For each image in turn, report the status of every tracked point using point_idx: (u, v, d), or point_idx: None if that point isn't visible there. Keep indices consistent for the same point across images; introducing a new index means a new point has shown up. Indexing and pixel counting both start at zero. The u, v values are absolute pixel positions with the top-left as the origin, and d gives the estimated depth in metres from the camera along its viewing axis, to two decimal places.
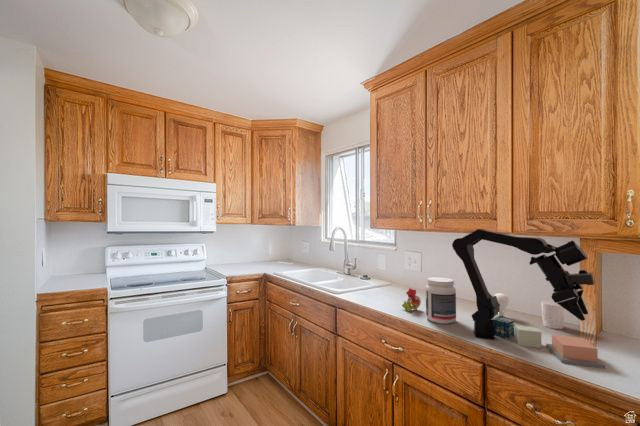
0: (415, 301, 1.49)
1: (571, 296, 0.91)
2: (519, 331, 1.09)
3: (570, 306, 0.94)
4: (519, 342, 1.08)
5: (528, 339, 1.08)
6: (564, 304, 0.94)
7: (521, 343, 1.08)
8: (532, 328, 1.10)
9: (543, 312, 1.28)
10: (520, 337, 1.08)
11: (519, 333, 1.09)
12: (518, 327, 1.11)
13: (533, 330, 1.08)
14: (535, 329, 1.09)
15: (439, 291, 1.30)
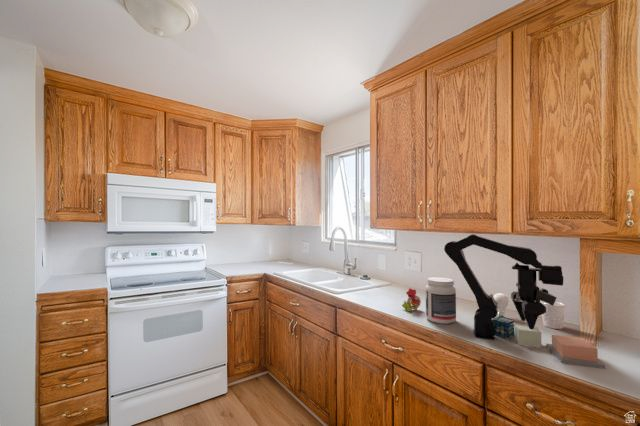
0: (415, 301, 1.49)
1: (542, 311, 1.01)
2: (519, 331, 1.09)
3: (530, 316, 1.05)
4: (519, 342, 1.08)
5: (528, 339, 1.08)
6: (527, 313, 1.04)
7: (521, 343, 1.08)
8: None
9: None
10: (520, 337, 1.08)
11: (519, 333, 1.09)
12: (518, 327, 1.11)
13: (533, 330, 1.08)
14: (535, 329, 1.09)
15: (439, 291, 1.30)
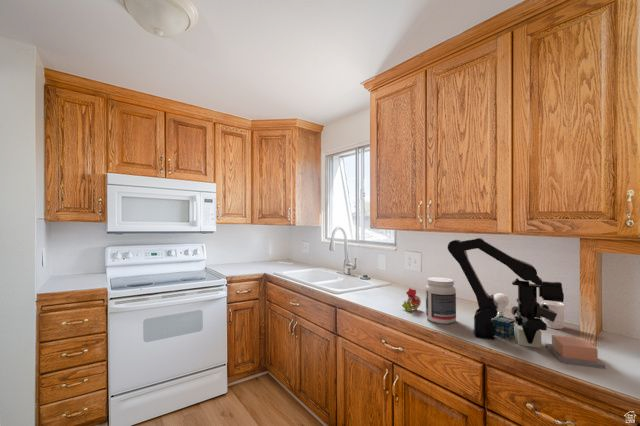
0: (415, 301, 1.49)
1: (543, 328, 1.00)
2: (519, 331, 1.09)
3: (528, 330, 1.06)
4: (519, 342, 1.08)
5: None
6: (526, 328, 1.06)
7: (521, 343, 1.08)
8: None
9: None
10: (520, 337, 1.08)
11: (519, 333, 1.09)
12: (518, 327, 1.11)
13: None
14: None
15: (439, 291, 1.30)
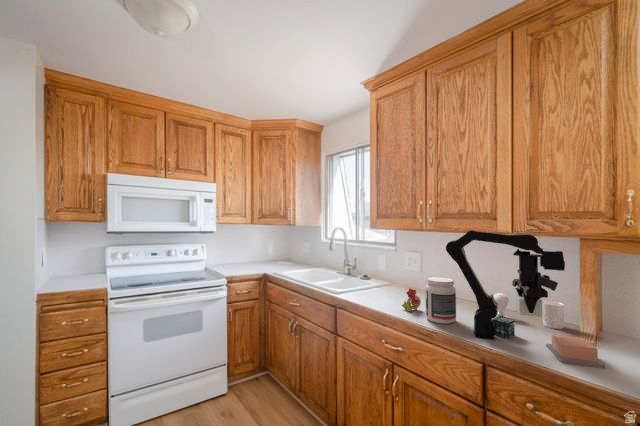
0: (415, 301, 1.49)
1: (544, 296, 1.00)
2: (520, 301, 1.09)
3: (530, 300, 1.06)
4: (520, 312, 1.08)
5: None
6: (527, 297, 1.06)
7: (522, 312, 1.08)
8: None
9: (543, 312, 1.28)
10: (522, 306, 1.08)
11: (520, 303, 1.08)
12: (519, 297, 1.11)
13: None
14: None
15: (439, 291, 1.30)
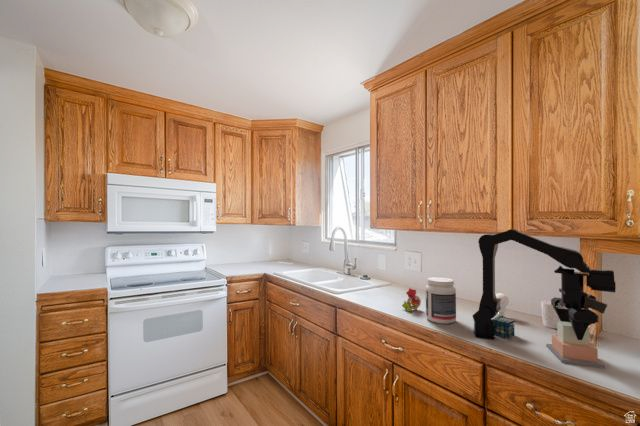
0: (415, 301, 1.49)
1: (594, 320, 0.90)
2: (564, 327, 0.99)
3: (578, 325, 0.94)
4: (564, 339, 0.98)
5: (574, 336, 0.98)
6: (576, 322, 0.94)
7: (566, 340, 0.98)
8: None
9: (543, 312, 1.28)
10: (565, 333, 0.98)
11: (564, 329, 0.98)
12: (562, 323, 1.01)
13: None
14: None
15: (439, 291, 1.30)
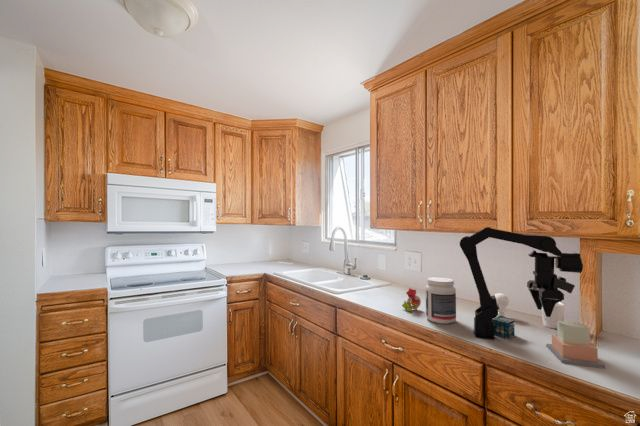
0: (415, 301, 1.49)
1: (560, 298, 0.99)
2: (564, 327, 0.99)
3: (547, 303, 1.03)
4: (564, 339, 0.98)
5: (574, 336, 0.98)
6: (544, 300, 1.03)
7: (566, 340, 0.98)
8: (578, 324, 1.00)
9: (543, 312, 1.28)
10: (565, 333, 0.98)
11: (564, 329, 0.98)
12: (562, 323, 1.01)
13: (580, 326, 0.98)
14: (581, 325, 0.99)
15: (439, 291, 1.30)
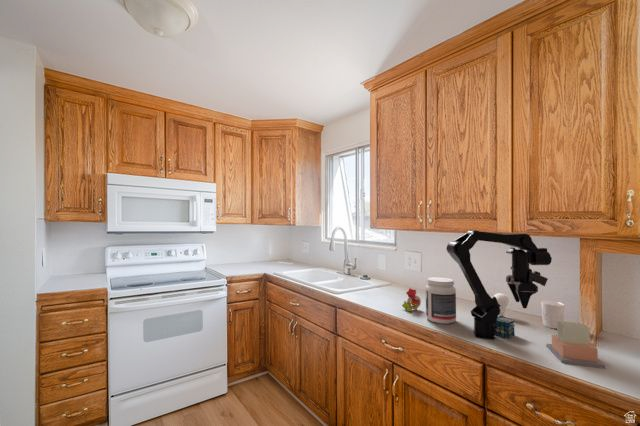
0: (415, 301, 1.49)
1: (534, 290, 1.08)
2: (564, 327, 0.99)
3: (523, 296, 1.12)
4: (564, 339, 0.98)
5: (574, 336, 0.98)
6: (521, 293, 1.12)
7: (566, 340, 0.98)
8: (578, 324, 1.00)
9: (543, 312, 1.28)
10: (565, 333, 0.98)
11: (564, 329, 0.98)
12: (562, 323, 1.01)
13: (580, 326, 0.98)
14: (581, 325, 0.99)
15: (439, 291, 1.30)
